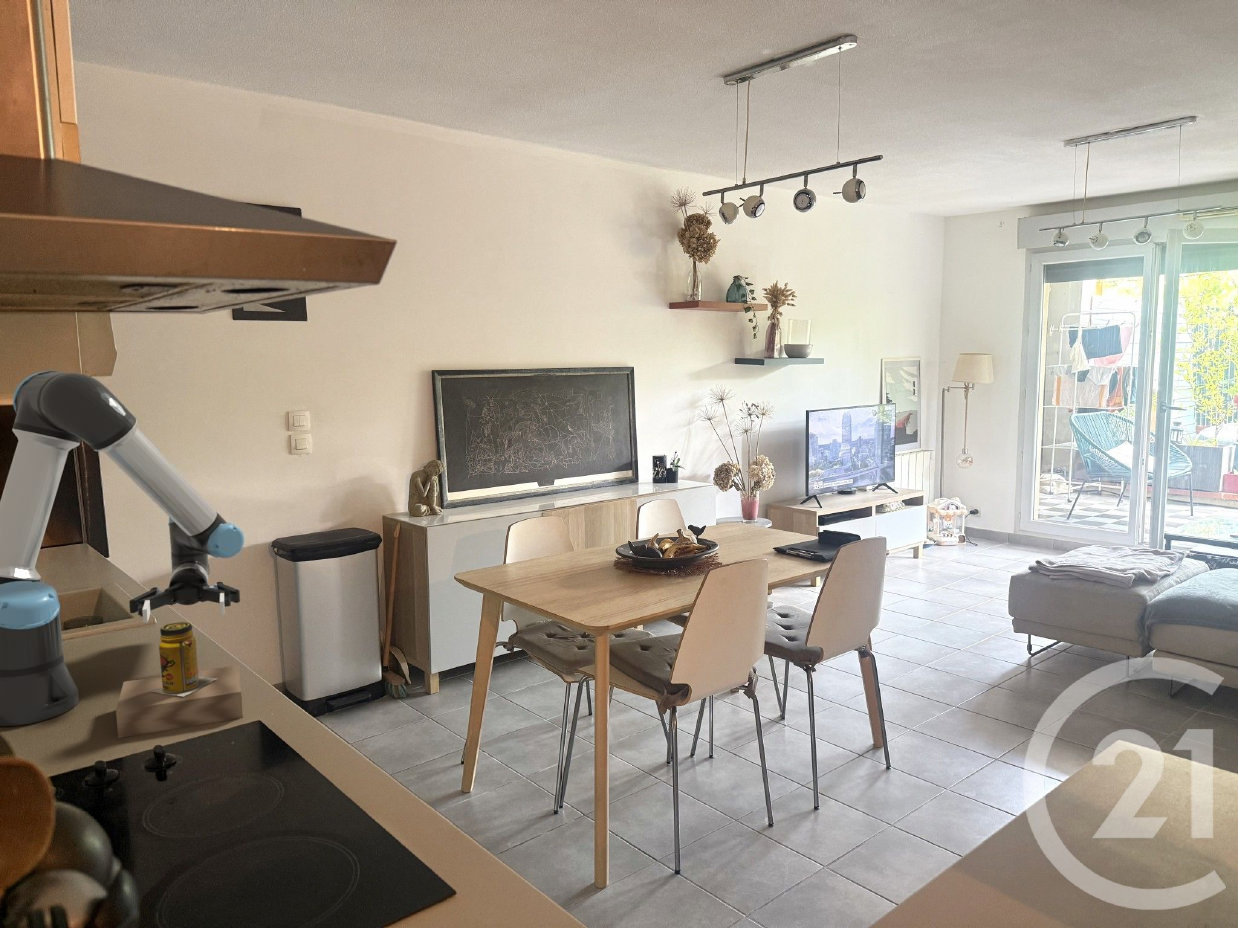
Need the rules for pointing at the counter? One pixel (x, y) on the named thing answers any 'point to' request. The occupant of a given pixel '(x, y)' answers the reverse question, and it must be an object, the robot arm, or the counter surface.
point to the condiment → (179, 661)
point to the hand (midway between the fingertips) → (184, 612)
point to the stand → (178, 703)
